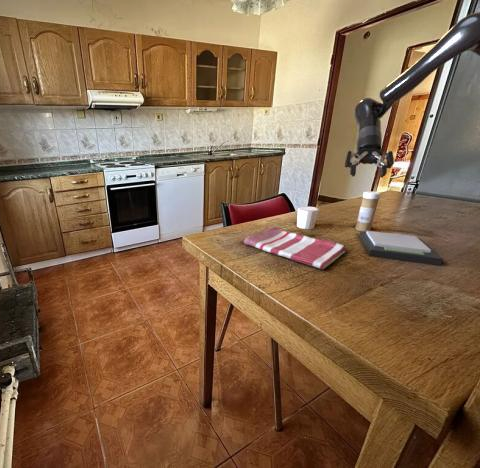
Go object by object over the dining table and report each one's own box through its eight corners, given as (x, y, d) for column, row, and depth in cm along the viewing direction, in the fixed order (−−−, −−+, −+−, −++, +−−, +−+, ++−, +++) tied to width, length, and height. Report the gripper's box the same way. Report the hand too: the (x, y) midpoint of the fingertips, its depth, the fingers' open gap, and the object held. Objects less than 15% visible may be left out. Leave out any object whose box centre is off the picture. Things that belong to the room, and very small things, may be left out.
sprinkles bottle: (373, 230, 89) (384, 192, 84) (365, 233, 87) (375, 194, 83) (359, 227, 93) (369, 190, 88) (351, 229, 91) (360, 191, 86)
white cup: (320, 228, 93) (324, 209, 90) (304, 230, 91) (308, 211, 89) (305, 222, 99) (308, 205, 97) (291, 224, 97) (293, 207, 95)
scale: (418, 244, 78) (421, 235, 77) (440, 265, 65) (444, 256, 64) (358, 237, 84) (360, 229, 83) (368, 256, 72) (371, 246, 71)
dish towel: (270, 232, 91) (271, 224, 90) (345, 252, 74) (348, 243, 73) (242, 245, 81) (243, 237, 80) (322, 272, 64) (324, 262, 63)
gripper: (349, 134, 98) (347, 168, 93) (396, 133, 93) (397, 169, 87) (344, 148, 105) (342, 180, 99) (388, 148, 99) (388, 182, 93)
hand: (367, 175), depth 93 cm, fingers open, 8 cm apart
